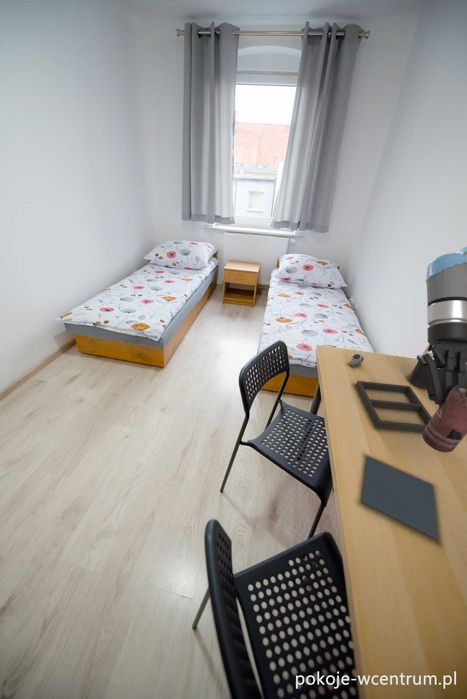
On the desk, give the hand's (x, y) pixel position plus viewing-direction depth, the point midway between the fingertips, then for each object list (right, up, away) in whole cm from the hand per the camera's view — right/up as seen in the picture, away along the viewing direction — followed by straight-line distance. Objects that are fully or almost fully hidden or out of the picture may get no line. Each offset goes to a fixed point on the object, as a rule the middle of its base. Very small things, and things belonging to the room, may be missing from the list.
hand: (451, 438), depth 56 cm
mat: (-4, -18, +12) cm, 22 cm away
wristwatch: (+5, +12, +55) cm, 56 cm away
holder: (+9, -2, +37) cm, 38 cm away
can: (0, -3, +5) cm, 6 cm away
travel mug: (+27, +5, +50) cm, 57 cm away
